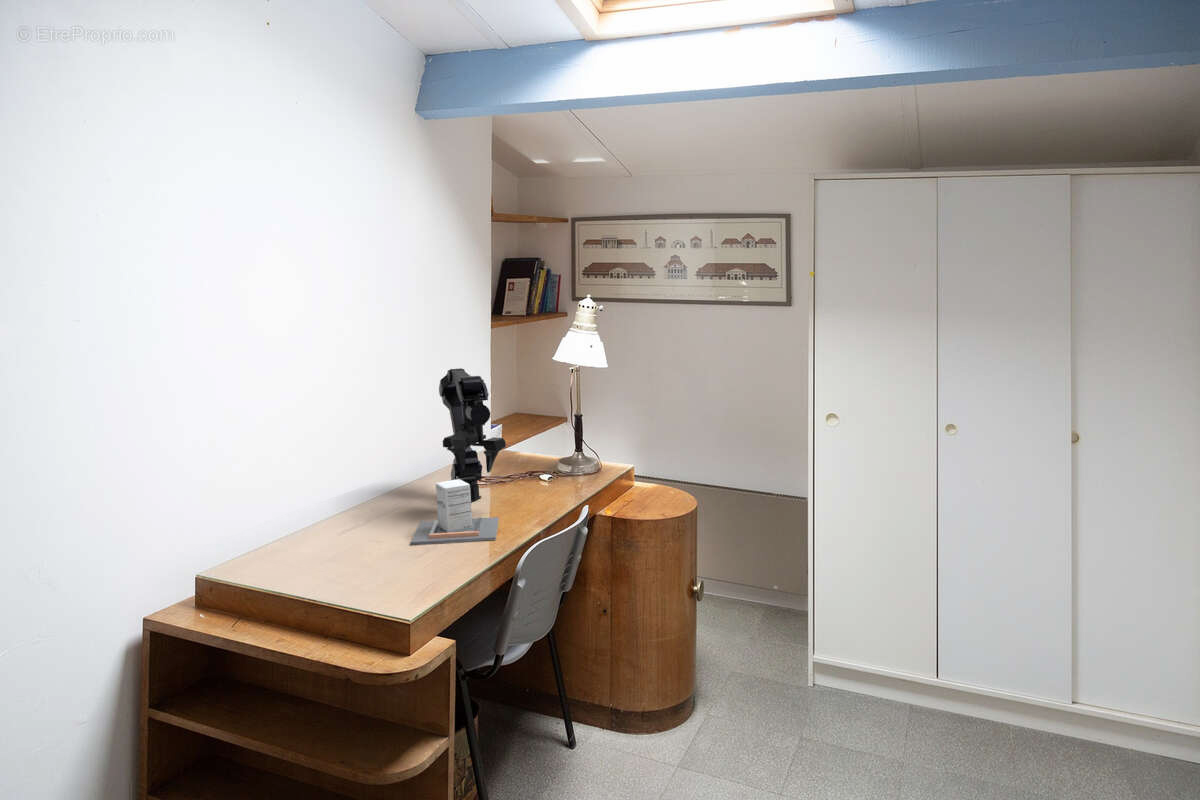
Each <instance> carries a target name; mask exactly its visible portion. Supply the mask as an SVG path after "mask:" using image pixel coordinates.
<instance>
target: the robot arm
mask: <svg viewBox="0 0 1200 800" xmlns="http://www.w3.org/2000/svg"><path fill="white" fill-rule="evenodd" d="M438 393H439V396H440V397H441V399H442V400H441V401H442V403H443V405H444V406H445V407H446V408H447V409H448V410H449V415H450V422H451V426H452V427H451V428H452V435H449V436H446V437H444V438H443V440H442V448H446V450H447V451H450V453H452V454H453V455H454V459H453V461H452V463H453V464H452V467H451V469H450V470H451V471H450V479H451V480H456V479H460V480H462V481H464V482H466V483H468V484H470V495H471V503H473V502H474V500H475V501H477V500H479V499H481V498H482V495H480V487H479V484H478V483H479V482H478V481H482V479H483V478H482V473H483V465H482V464H481V463H482V462H481V461H480V460H479V456H478V452H477V450H474V449H473V448H472V447H483V449H484V451H483V454H484V455H485V462H486V463H485V464H486V465H485V466H486V473H488V474H489V473H491V471H492V469H493V466H494V464H495V463H494V462H495V460H496V457H497V456H498V454H499V453H500V451H503V449H504V448H506V447H507V446H506V443H507V442H506V440H505V439H504V438H503V437H491V438H488V439H487V435H486V434H484V428H483V427H484V426H485V425H486V423H488V421H490V418H491V411H490V409H489V407H488V406H487V405H485V404H484V401H489V391H488V388H487V385H486V383H485V380H484V379H482V376H480V375H470V374H469V373H468V372H467V371H466V370H465V369H464V368H461V367H460V368H450V369H447V373H446V374H445V375H444V376H443V377H442V378H441V379H440V380H439V387H438ZM471 446H472V447H471ZM472 501H473V502H472Z"/></svg>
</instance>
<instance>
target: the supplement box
mask: <svg viewBox="0 0 1200 800" xmlns="http://www.w3.org/2000/svg"><path fill="white" fill-rule="evenodd" d="M435 491H436V506H437V507H436V508H437V520H438V525H439V527H440V528H442V529H443V530H445V531H446V532H447V533H449V532H458V531H463V530H467V529H472V519H473V516H472V502H471V495H470V484H468V483H466V482H464V481H462V480H460V479H456V480H446V481H439V482H436V483H435Z"/></svg>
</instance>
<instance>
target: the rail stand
mask: <svg viewBox="0 0 1200 800" xmlns="http://www.w3.org/2000/svg"><path fill="white" fill-rule="evenodd" d="M499 520H500V516H494V517H492V516H491V517H478V518H477V517H476V518H473V517H472V529H467V530H463V531H458V532H449V533H447V532H446V531H445V530H443V529H442V528H440V527H439V525H438V519H436V520H424V521H420V522H419V523H418V526H417V528H416V530H415V532H414V534H413V537H412V538H411V540H410V546H418V545H420V544H422V545H433V544H432V543H439V544H452V543H453V542H456V543H467V542H468V543H471V542H470V541H474V542H485V541H484V540H491V541H496V540H497V533H498V529H497V528H499V522H498V521H499ZM450 542H452V543H450Z"/></svg>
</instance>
